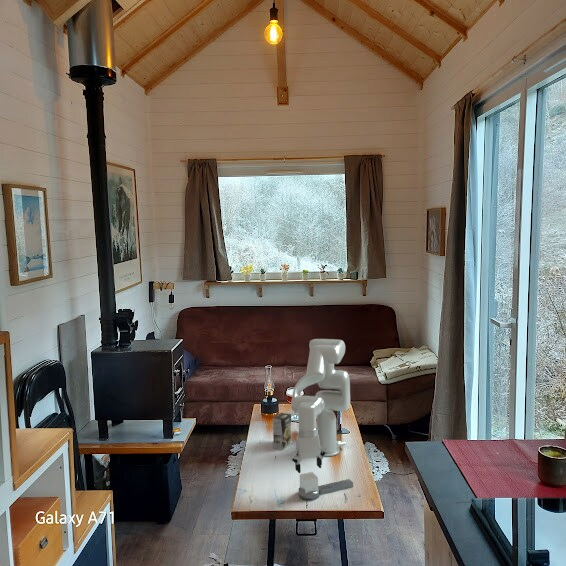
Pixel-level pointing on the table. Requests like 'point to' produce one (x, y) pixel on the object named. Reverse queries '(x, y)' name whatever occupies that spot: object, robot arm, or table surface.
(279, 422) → the coffee box
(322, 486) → the ratchet
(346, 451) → the table surface
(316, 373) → the robot arm
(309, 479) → the brushed grey cube
